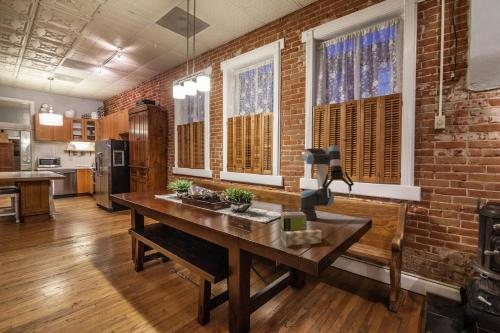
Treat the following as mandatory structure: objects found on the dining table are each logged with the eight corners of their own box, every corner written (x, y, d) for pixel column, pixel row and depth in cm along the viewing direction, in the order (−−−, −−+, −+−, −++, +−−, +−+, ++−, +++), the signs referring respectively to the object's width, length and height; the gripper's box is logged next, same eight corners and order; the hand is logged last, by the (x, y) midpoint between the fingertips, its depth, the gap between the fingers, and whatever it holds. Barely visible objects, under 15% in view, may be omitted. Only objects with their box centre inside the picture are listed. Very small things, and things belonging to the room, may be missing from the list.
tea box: (302, 233, 168) (303, 211, 167) (306, 238, 158) (307, 215, 157) (280, 233, 167) (280, 211, 167) (283, 238, 157) (283, 215, 157)
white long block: (316, 239, 155) (316, 228, 155) (323, 243, 148) (323, 232, 147) (280, 242, 150) (281, 230, 149) (285, 247, 142) (286, 235, 142)
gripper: (316, 167, 176) (319, 196, 169) (355, 163, 167) (359, 193, 160) (318, 170, 182) (320, 198, 175) (355, 166, 174) (359, 196, 166)
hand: (339, 196), depth 167 cm, fingers open, 13 cm apart
